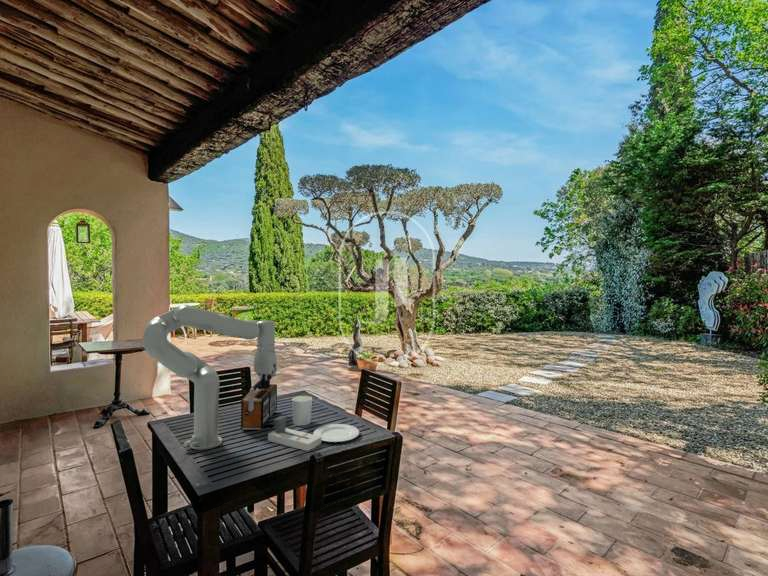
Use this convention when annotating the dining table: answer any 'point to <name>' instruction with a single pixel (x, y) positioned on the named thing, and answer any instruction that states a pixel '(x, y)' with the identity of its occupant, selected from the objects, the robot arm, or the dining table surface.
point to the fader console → (295, 439)
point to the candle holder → (301, 410)
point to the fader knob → (280, 424)
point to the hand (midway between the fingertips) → (265, 388)
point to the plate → (337, 432)
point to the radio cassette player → (258, 407)
